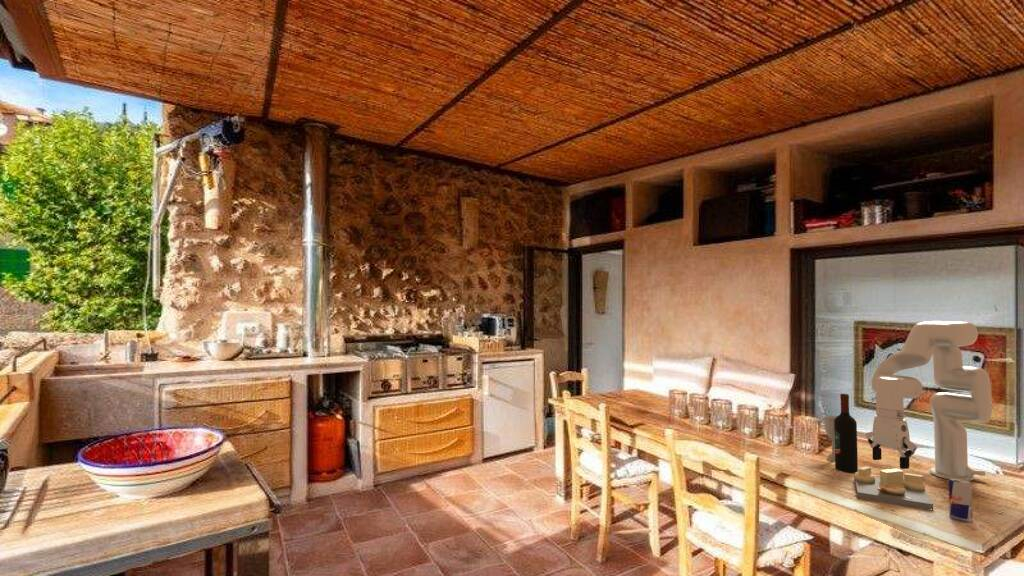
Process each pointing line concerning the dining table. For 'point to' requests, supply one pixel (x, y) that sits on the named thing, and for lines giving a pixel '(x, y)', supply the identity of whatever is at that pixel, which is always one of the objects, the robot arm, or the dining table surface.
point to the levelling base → (912, 496)
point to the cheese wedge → (891, 482)
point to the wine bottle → (845, 439)
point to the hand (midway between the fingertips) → (890, 464)
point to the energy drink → (960, 500)
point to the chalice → (830, 434)
